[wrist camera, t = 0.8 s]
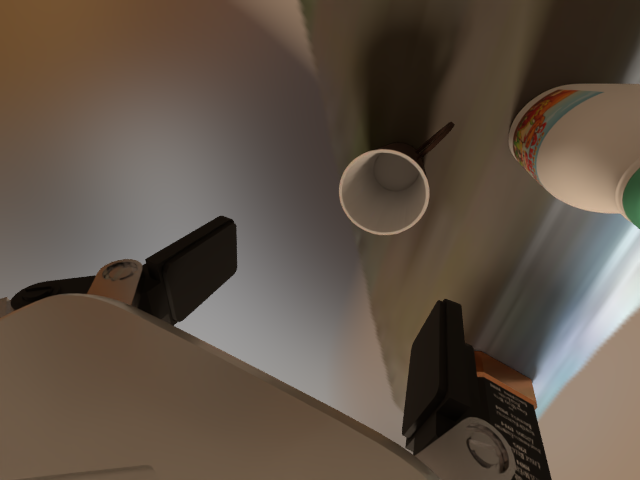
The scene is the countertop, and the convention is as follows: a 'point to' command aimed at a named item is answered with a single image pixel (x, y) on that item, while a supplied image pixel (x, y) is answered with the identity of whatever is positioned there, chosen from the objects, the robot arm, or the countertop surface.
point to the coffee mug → (388, 187)
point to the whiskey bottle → (512, 415)
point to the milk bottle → (584, 146)
